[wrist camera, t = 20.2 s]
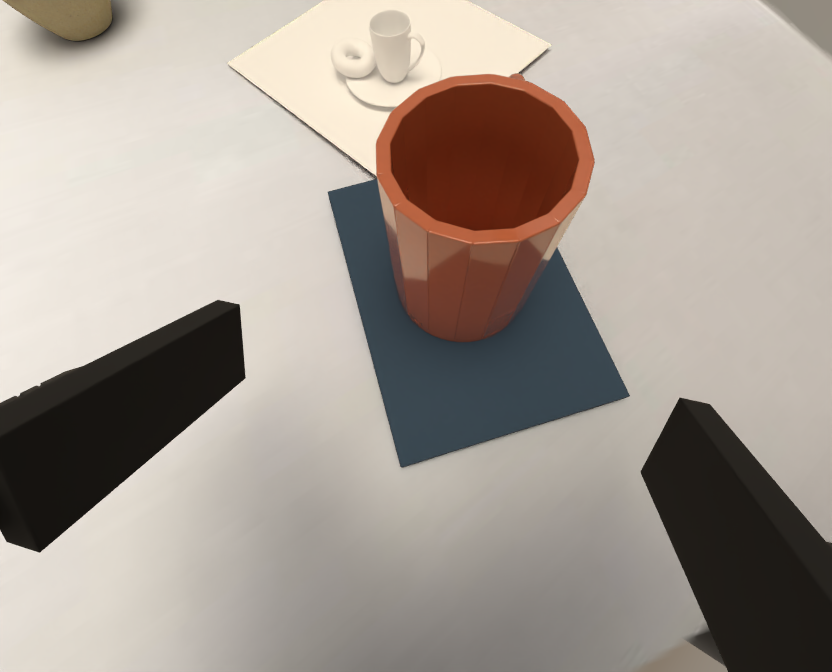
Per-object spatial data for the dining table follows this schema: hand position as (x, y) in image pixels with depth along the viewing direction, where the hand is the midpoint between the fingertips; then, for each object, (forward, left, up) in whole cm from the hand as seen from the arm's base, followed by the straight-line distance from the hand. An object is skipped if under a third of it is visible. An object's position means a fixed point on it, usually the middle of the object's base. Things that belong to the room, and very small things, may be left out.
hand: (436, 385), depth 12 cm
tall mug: (+10, -5, -11) cm, 16 cm away
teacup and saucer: (+31, -6, -12) cm, 34 cm away
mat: (+8, -5, -12) cm, 15 cm away
